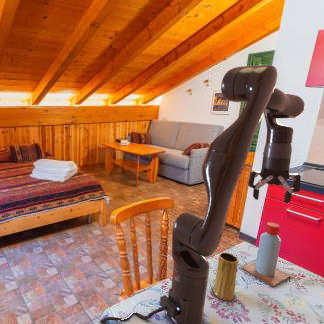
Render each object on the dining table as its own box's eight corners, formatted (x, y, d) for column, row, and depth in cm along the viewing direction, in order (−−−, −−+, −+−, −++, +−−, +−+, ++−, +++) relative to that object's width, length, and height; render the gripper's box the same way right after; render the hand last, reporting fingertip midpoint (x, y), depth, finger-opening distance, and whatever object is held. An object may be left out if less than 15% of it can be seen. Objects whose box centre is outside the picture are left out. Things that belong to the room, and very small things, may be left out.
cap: (274, 236, 88) (276, 228, 87) (263, 231, 91) (264, 223, 90) (280, 233, 89) (281, 225, 88) (269, 229, 92) (270, 221, 92)
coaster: (273, 286, 87) (273, 285, 87) (241, 268, 96) (241, 267, 96) (290, 277, 91) (290, 276, 91) (258, 260, 101) (258, 259, 101)
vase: (213, 297, 83) (218, 259, 79) (212, 285, 88) (217, 249, 85) (234, 303, 80) (240, 265, 77) (233, 290, 85) (238, 254, 82)
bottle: (268, 278, 90) (277, 231, 86) (251, 268, 95) (259, 224, 91) (277, 273, 93) (287, 227, 88) (260, 264, 98) (268, 220, 93)
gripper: (254, 155, 86) (248, 200, 88) (307, 158, 80) (300, 207, 82) (250, 153, 93) (245, 195, 95) (299, 156, 87) (292, 201, 89)
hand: (270, 201), depth 89 cm, fingers open, 8 cm apart
